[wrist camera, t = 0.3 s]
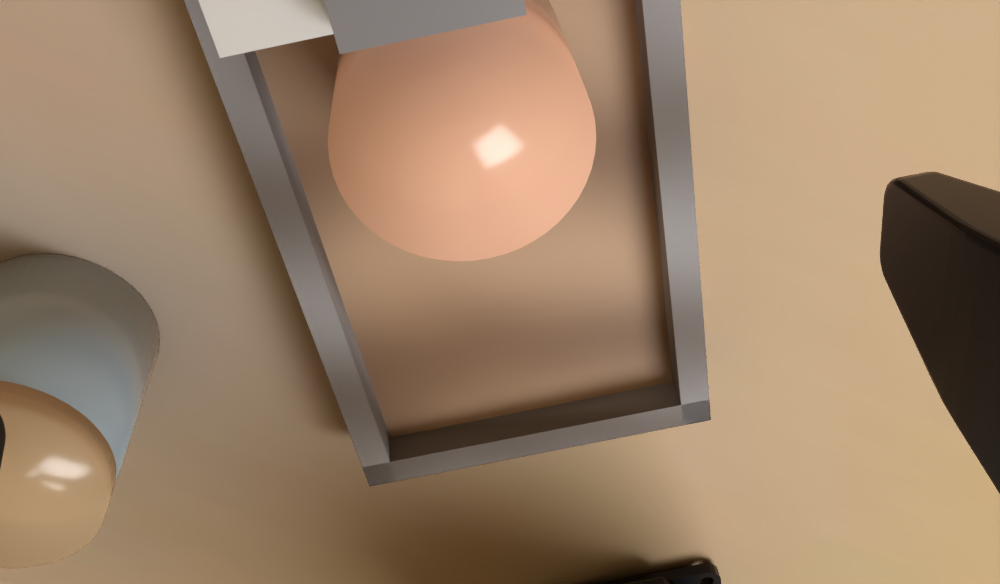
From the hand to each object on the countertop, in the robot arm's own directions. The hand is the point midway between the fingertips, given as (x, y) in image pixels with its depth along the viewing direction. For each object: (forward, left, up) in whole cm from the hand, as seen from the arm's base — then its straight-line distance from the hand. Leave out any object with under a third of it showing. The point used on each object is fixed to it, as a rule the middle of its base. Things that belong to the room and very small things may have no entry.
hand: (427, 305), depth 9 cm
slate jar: (-8, +12, -14) cm, 20 cm away
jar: (-3, 0, -13) cm, 13 cm away
